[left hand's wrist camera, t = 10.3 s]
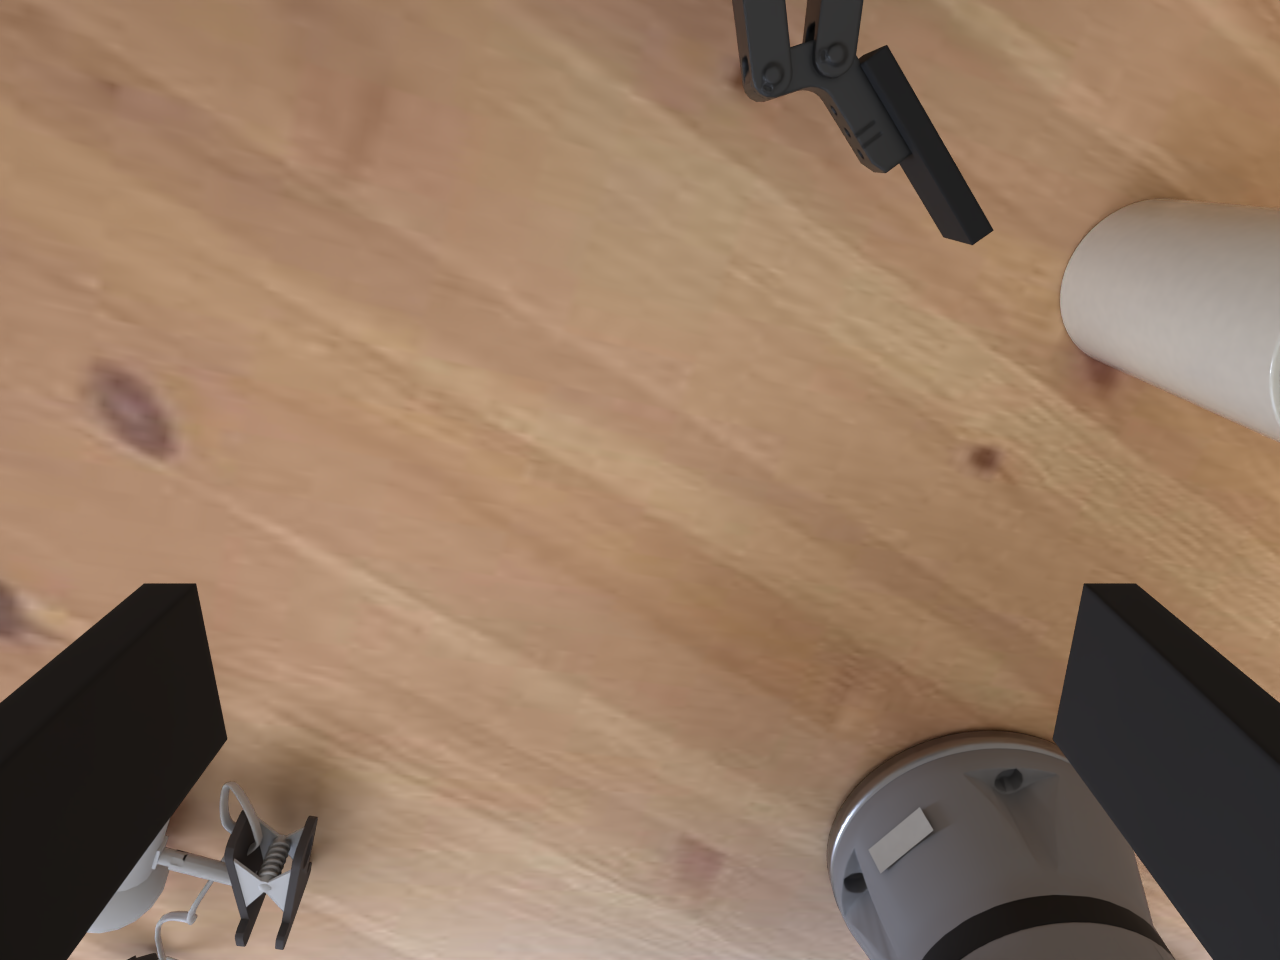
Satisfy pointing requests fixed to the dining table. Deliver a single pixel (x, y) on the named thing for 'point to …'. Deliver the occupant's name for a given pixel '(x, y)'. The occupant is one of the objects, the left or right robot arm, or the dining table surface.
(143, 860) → the clip-on lamp
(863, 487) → the dining table surface
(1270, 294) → the bottle
